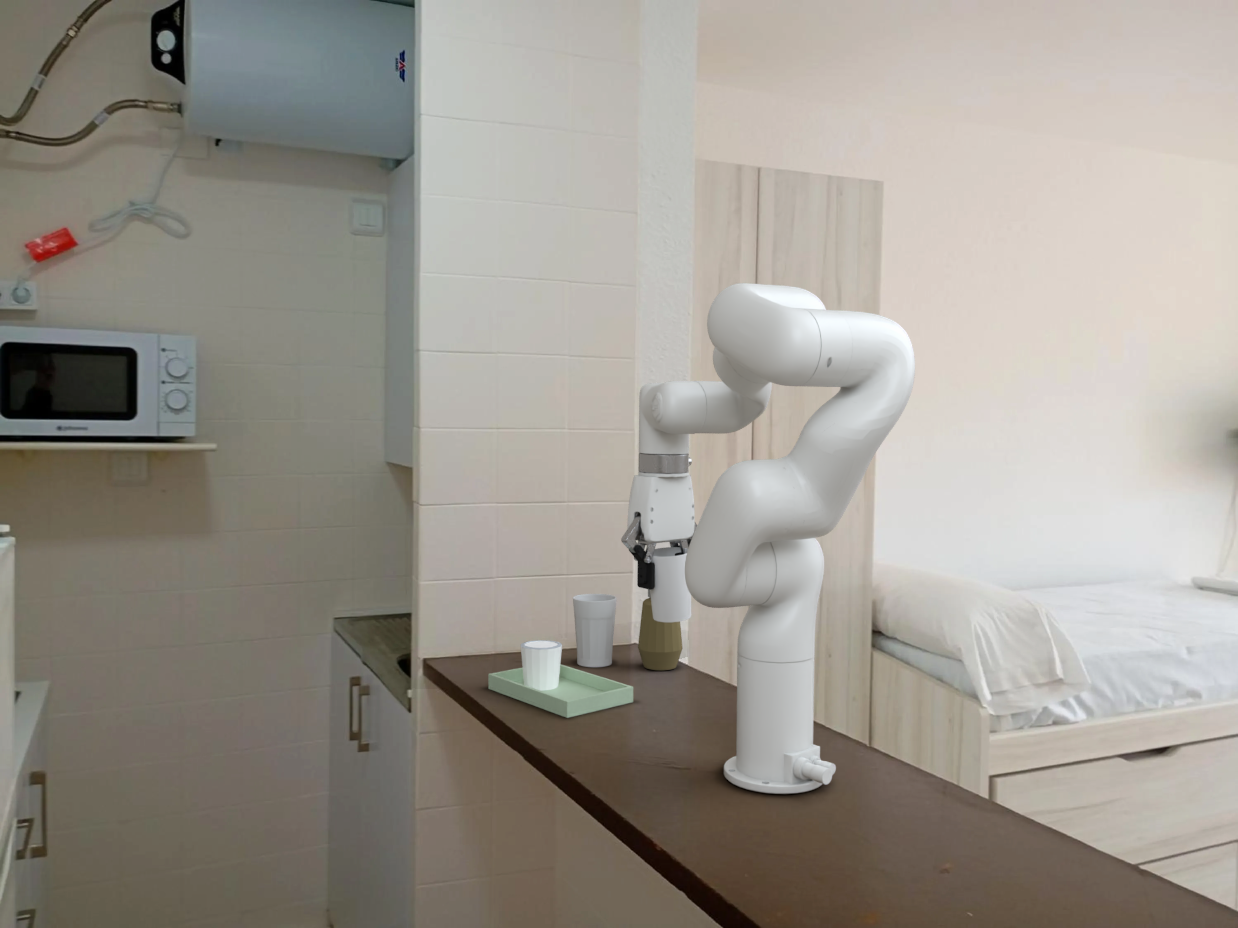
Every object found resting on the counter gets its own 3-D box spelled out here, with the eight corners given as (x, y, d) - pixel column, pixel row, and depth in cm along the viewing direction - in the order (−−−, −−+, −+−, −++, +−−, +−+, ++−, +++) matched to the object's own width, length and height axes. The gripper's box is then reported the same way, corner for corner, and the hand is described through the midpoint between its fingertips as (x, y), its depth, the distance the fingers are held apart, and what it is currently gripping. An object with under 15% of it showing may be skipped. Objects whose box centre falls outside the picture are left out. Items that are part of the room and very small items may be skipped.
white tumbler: (684, 608, 160) (680, 545, 158) (701, 618, 153) (697, 552, 152) (643, 614, 157) (639, 550, 156) (659, 625, 151) (655, 559, 150)
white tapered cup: (560, 691, 167) (560, 648, 166) (518, 691, 167) (518, 648, 166) (563, 680, 173) (563, 639, 173) (522, 680, 174) (522, 639, 173)
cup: (618, 658, 192) (618, 594, 191) (613, 668, 184) (614, 602, 183) (575, 657, 192) (576, 593, 192) (569, 667, 184) (569, 600, 184)
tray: (633, 702, 163) (633, 686, 163) (567, 718, 154) (567, 701, 154) (552, 675, 179) (552, 661, 179) (488, 688, 170) (488, 673, 170)
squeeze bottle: (653, 659, 191) (654, 562, 190) (691, 666, 186) (692, 566, 185) (628, 668, 184) (629, 568, 183) (666, 675, 179) (667, 572, 178)
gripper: (688, 462, 162) (686, 576, 163) (602, 466, 151) (601, 588, 152) (722, 465, 156) (720, 583, 158) (636, 469, 145) (634, 596, 147)
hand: (661, 584), depth 155 cm, fingers closed on white tumbler, 5 cm apart
